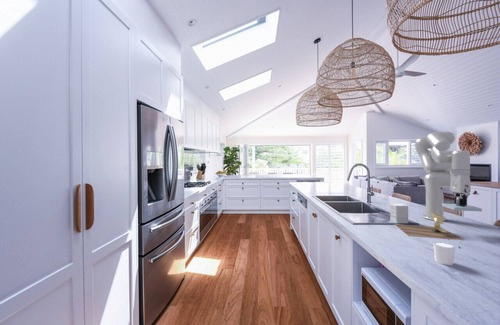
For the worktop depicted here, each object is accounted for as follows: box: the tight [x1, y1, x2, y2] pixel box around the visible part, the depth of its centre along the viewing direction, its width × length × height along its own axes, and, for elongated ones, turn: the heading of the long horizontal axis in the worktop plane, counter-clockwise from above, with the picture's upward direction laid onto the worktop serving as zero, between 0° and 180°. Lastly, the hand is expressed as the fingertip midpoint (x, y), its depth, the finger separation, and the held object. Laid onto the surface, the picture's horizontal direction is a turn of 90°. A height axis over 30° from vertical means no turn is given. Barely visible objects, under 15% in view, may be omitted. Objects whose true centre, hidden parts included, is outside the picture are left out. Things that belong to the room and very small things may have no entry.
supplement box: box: [389, 203, 409, 224], centre depth 141 cm, size 7×7×13 cm
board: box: [394, 223, 465, 241], centre depth 122 cm, size 22×24×2 cm
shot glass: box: [432, 241, 457, 266], centre depth 89 cm, size 7×7×7 cm
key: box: [431, 213, 448, 233], centre depth 120 cm, size 2×11×9 cm, turn 162°
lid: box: [442, 197, 483, 212], centre depth 124 cm, size 12×12×6 cm
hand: (460, 204), depth 124 cm, fingers closed on lid, 3 cm apart
